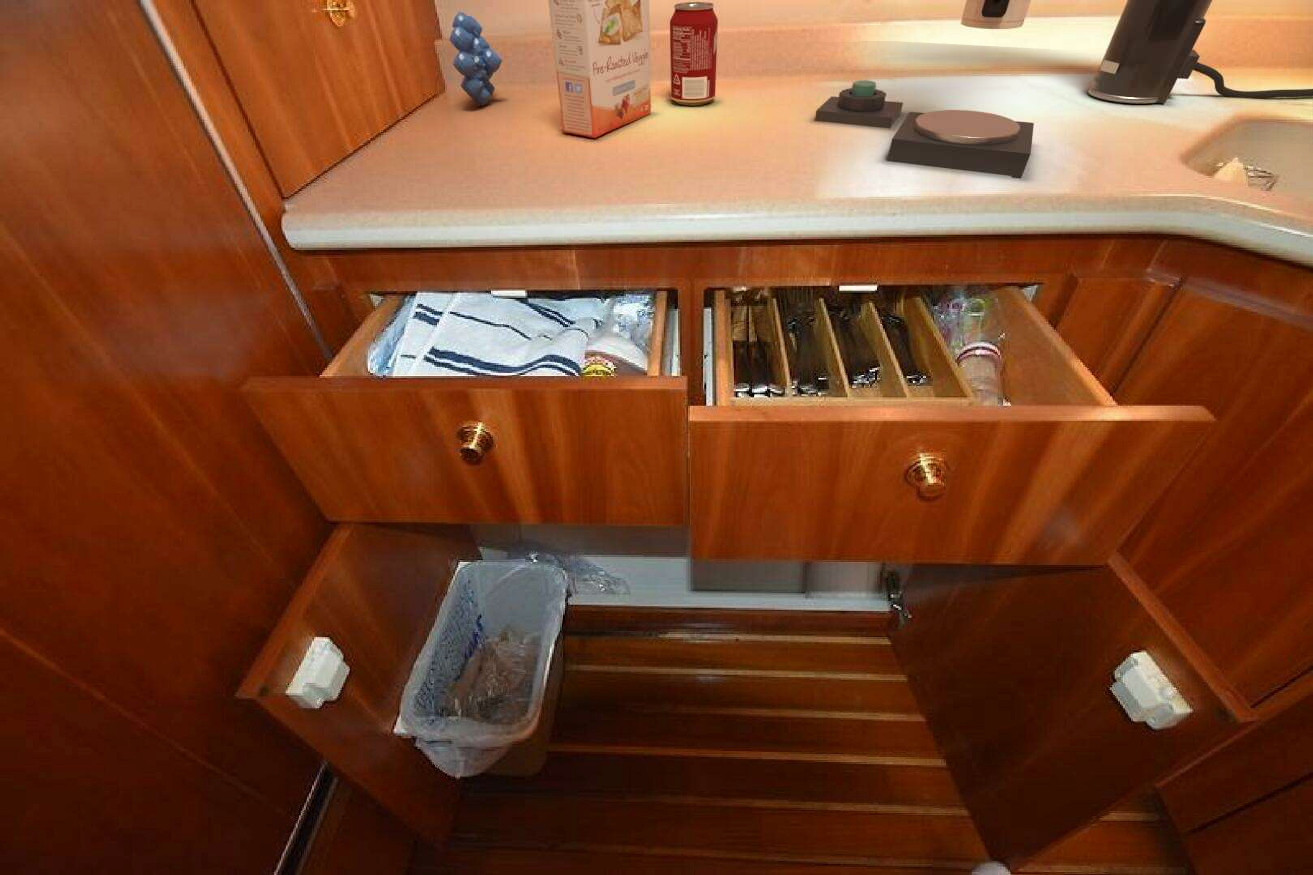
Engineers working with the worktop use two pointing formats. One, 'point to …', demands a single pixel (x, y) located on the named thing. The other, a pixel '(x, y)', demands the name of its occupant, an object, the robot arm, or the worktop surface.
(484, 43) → the grapes
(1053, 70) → the worktop surface
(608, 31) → the cracker box
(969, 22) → the cup
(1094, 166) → the worktop surface
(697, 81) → the soda can
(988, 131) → the scale
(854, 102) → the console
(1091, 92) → the robot arm
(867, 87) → the button
